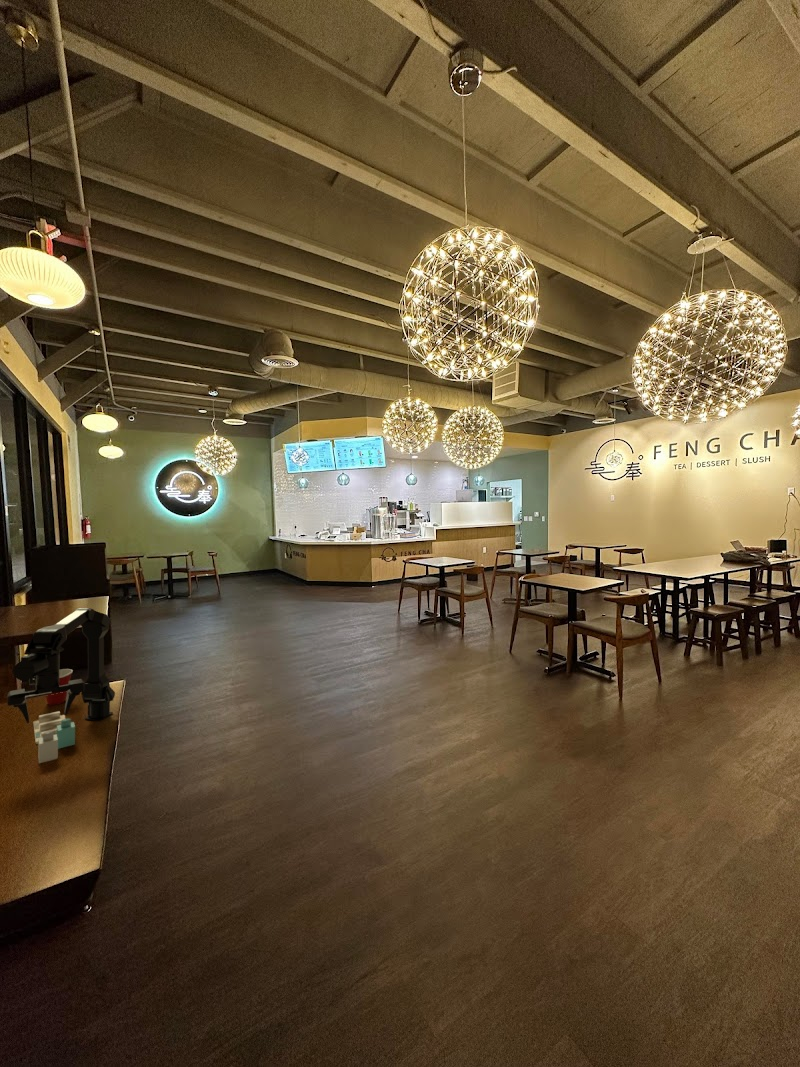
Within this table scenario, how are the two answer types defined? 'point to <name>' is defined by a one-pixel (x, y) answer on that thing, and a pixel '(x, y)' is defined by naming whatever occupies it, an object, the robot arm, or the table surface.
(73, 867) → the table surface
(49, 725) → the backplate with mounted blocks
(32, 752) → the table surface
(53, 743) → the grey plug
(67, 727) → the teal plug
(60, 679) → the plastic cup
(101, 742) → the table surface
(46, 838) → the table surface
